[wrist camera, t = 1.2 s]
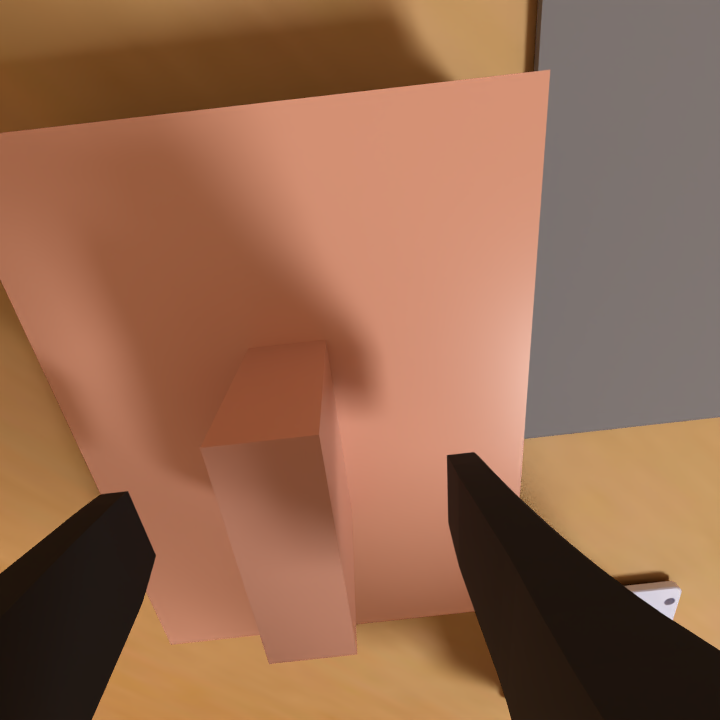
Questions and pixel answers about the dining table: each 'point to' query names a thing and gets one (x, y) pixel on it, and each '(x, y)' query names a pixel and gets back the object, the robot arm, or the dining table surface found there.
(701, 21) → the mat
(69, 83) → the dining table surface
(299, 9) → the dining table surface
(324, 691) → the dining table surface
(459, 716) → the dining table surface
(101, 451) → the lid
